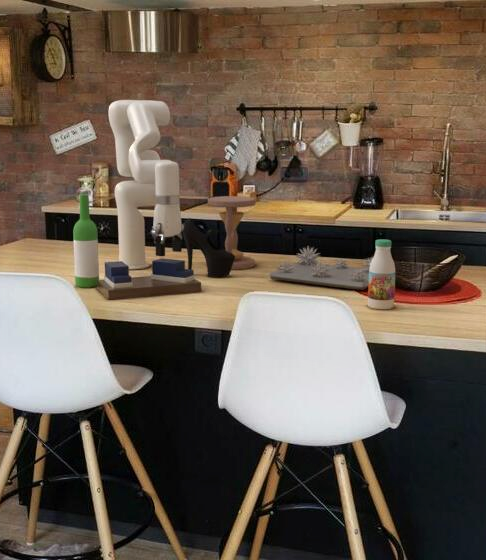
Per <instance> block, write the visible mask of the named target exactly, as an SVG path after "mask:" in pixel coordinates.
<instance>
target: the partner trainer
mask: <svg viewBox="0 0 486 560" xmlns="http://www.w3.org/2000/svg"><path fill="white" fill-rule="evenodd" d="M131 277H132V276H131V275H130V269H129V266H128V265H126V264H125V263H123V262H122V261H119V260H118V261H104V276H103V279H104V281H106V282H107V283H108V284H109V285H110V286H111V287H112V288H113V289H116V288H128V287H133V283H132V282H131Z"/></svg>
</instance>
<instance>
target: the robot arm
mask: <svg viewBox="0 0 486 560" xmlns="http://www.w3.org/2000/svg"><path fill="white" fill-rule="evenodd" d="M108 120H109V126H110V128H111V130H112V133H113V137H114V142H115V144H114V145H115V157H116V159H115V160H116V168H117V172H118V174H119V175H120V176H122V177H126V178H127V177H128V178H133V179H134V180H124V181H120V182H118V183H117V184H116V185H115V187H114V198H115V199H114V200H115V203H116V209H117V210H116V211H117V228H118V229H117V230H118V233H117V234H118V261H122V262H123V263H125V264H126V265H128V266H129V270H143V269H147V268H149V267H150V265H151V264H150V262H149V261H146V233H145V231H146V229H145V228H146V227H145V226H146V225H145V217H144V215H143V213H141V212H140V210H139V209H138V208H141V207H154V212H153V226H152V228H153V229H152V230H151V235H152V239H153V242H154V244H155V256H156V257H165V256H166V243H165V240H166V238H171V237H172V239H171V243H172V244H171V247H172V248H171V249H172V252H176V253H181V252H182V251H183V249H182V240H183V229H184V225H183V224H184V223H182V215H181V209H180V208H181V207H180V205H181V204H180V203H181V202H180V167H179V163H178V162H176V161H173V160H171V159H161V157H160V155H159V153H158V152H157V151H155V150H153V149H152V148H154V147H156V146H157V145H158V144H159V143H160V141H161V138H162V137H161V132H160V130H159V127H166V126H167V125H169V123H170V120H171V111H170V109H169V106H168V104H167V103H166V102H164V101H162V100H153V99H152V100H149V99H148V100H147V99H120V100H115V101H113V102H111V103H110V105H109V107H108Z"/></svg>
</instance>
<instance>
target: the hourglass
mask: <svg viewBox="0 0 486 560" xmlns="http://www.w3.org/2000/svg"><path fill="white" fill-rule="evenodd" d="M207 205H208V206H210V207H216V208H225V211H219V212H218V214H219V218H220V219H221V220H222V222H223V223H224V228H225V232H226V237H225V241H224V247H225V249H224V250H226V251H228V252H230V253H232V254H234V256H235V259H234V262H233V265H232V268H231V271H235V270H246V269H247V270H248V269H251V268H254V267H255V266H256V260H255V258H253V257H250V256H245V255H244V252H242V251H240V250H238V241H239V236H238V232H237V227H238V226H239V224H240V222H241V220H242V219H243V218H244V215H245V212H244V211H238V208H248V207H253V206H254V207H255V205H256V199H255V197H251V196H239V195H224V196H223V195H222V196H221V195H220V196H211V197H208V198H207Z"/></svg>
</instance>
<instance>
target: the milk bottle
mask: <svg viewBox="0 0 486 560" xmlns="http://www.w3.org/2000/svg"><path fill="white" fill-rule="evenodd" d="M374 244H375V245H374V246H375V252H374V255H373V256H372V258H371V259H372V261H371V264H370V268H369V283H368V287H367V289H368V290H367V306H368V307H369V308H371V309H375V310H390V309H393V308H394V306H395V292H396V291H395V290H396V289H395V288H396V266H395V261H394V259H393V257H392V253H391V248H392V240H390V239H382V238H381V239H376V240H375V243H374Z"/></svg>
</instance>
